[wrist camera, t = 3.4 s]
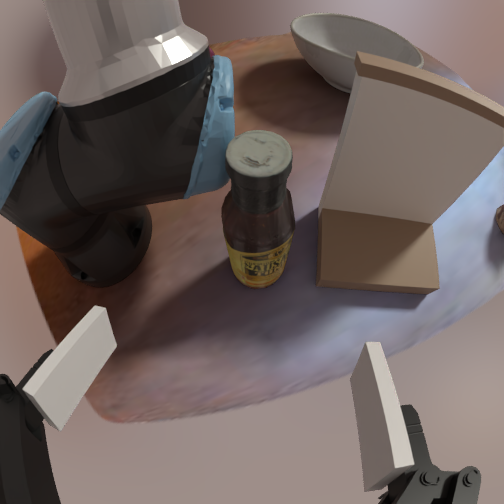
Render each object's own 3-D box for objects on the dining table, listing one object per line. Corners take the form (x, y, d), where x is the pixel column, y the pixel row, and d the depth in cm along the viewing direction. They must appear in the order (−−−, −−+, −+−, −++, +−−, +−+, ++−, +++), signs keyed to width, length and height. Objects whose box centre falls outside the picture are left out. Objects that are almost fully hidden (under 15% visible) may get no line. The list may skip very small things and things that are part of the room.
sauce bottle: (250, 300, 32) (228, 221, 14) (223, 258, 34) (180, 147, 16) (296, 272, 33) (330, 167, 15) (268, 232, 35) (269, 108, 17)
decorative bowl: (393, 138, 41) (416, 88, 30) (265, 84, 47) (263, 33, 36) (414, 83, 49) (427, 46, 37) (317, 43, 55) (321, 6, 44)
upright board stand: (313, 286, 32) (389, 155, 11) (316, 206, 36) (356, 51, 15) (429, 294, 31) (559, 214, 9) (422, 221, 35) (511, 112, 13)
